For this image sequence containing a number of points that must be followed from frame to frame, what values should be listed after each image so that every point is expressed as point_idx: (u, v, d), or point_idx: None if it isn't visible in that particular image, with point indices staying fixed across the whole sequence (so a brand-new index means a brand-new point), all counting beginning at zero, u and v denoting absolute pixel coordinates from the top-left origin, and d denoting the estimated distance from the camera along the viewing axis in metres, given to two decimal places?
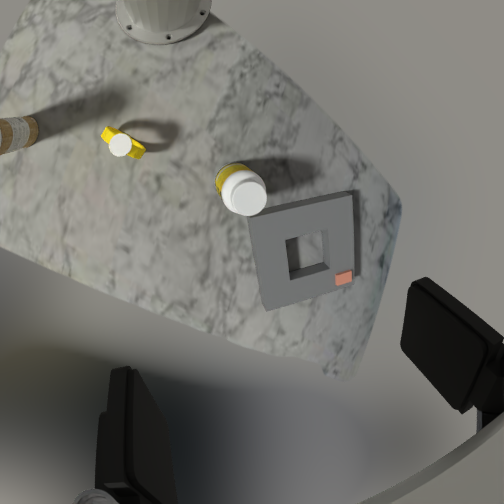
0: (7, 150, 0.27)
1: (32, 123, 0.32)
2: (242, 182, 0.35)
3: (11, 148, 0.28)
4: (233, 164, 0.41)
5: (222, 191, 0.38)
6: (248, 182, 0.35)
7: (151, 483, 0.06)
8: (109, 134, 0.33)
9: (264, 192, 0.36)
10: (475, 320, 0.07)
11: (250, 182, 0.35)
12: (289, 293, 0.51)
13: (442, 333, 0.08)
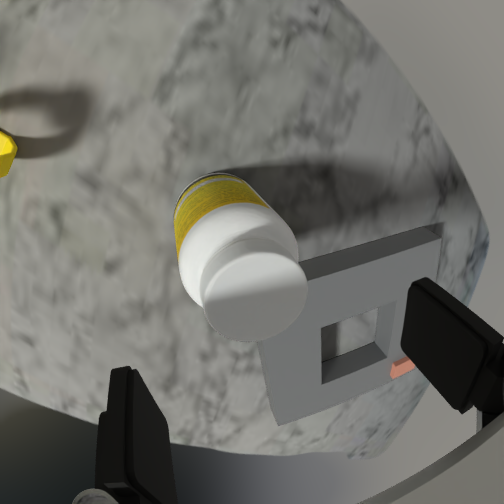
0: None
1: None
2: (234, 252, 0.11)
3: None
4: (214, 179, 0.17)
5: (180, 264, 0.13)
6: (254, 254, 0.11)
7: (151, 483, 0.06)
8: None
9: (302, 280, 0.12)
10: (475, 320, 0.07)
11: (260, 254, 0.11)
12: (318, 400, 0.28)
13: (442, 333, 0.08)
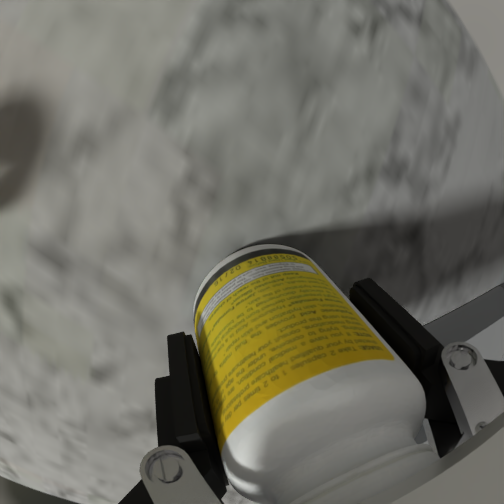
0: None
1: None
2: None
3: None
4: (268, 267, 0.10)
5: (226, 465, 0.06)
6: None
7: (215, 438, 0.07)
8: None
9: None
10: (411, 323, 0.08)
11: None
12: None
13: None
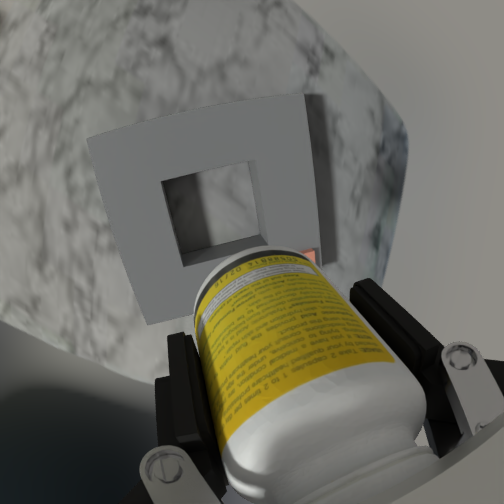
0: None
1: None
2: None
3: None
4: (268, 268, 0.10)
5: (227, 467, 0.06)
6: None
7: (215, 438, 0.07)
8: None
9: None
10: (411, 323, 0.08)
11: None
12: (186, 293, 0.26)
13: (380, 335, 0.09)
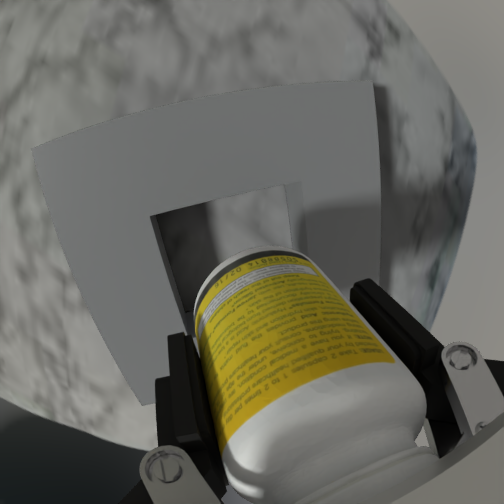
0: None
1: None
2: None
3: None
4: (268, 269, 0.10)
5: (227, 468, 0.06)
6: None
7: (215, 438, 0.07)
8: None
9: None
10: (411, 323, 0.08)
11: None
12: None
13: (380, 335, 0.09)
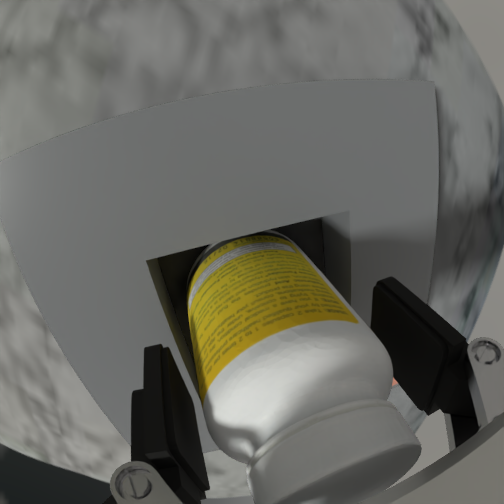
0: None
1: None
2: (323, 453, 0.05)
3: None
4: (251, 246, 0.11)
5: (207, 417, 0.07)
6: (361, 457, 0.05)
7: (188, 454, 0.07)
8: None
9: (416, 455, 0.05)
10: (437, 320, 0.08)
11: (372, 454, 0.05)
12: (206, 430, 0.14)
13: (405, 333, 0.09)
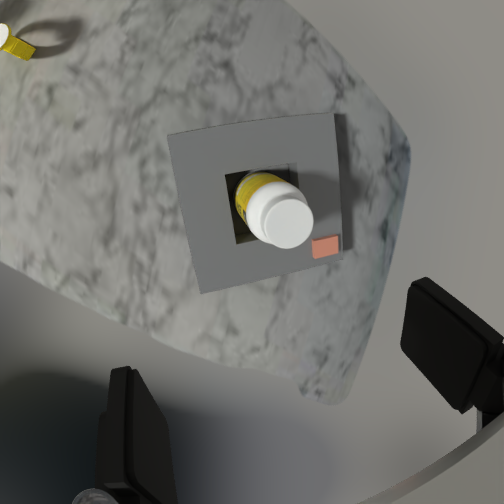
0: None
1: None
2: (280, 199, 0.24)
3: None
4: (260, 173, 0.30)
5: (247, 211, 0.26)
6: (289, 199, 0.24)
7: (151, 483, 0.06)
8: None
9: (310, 215, 0.24)
10: (475, 320, 0.07)
11: (292, 200, 0.24)
12: (236, 266, 0.33)
13: (442, 333, 0.08)
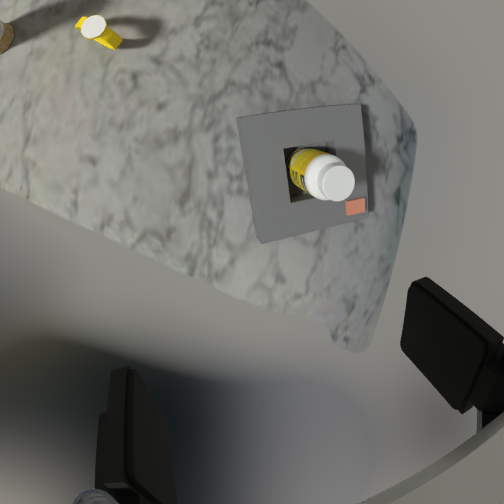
0: None
1: (8, 27, 0.22)
2: (332, 165, 0.32)
3: None
4: (308, 148, 0.38)
5: (306, 174, 0.35)
6: (339, 166, 0.32)
7: (151, 483, 0.06)
8: (83, 19, 0.23)
9: (353, 177, 0.33)
10: (475, 320, 0.07)
11: (341, 166, 0.32)
12: (290, 221, 0.41)
13: (442, 333, 0.08)
